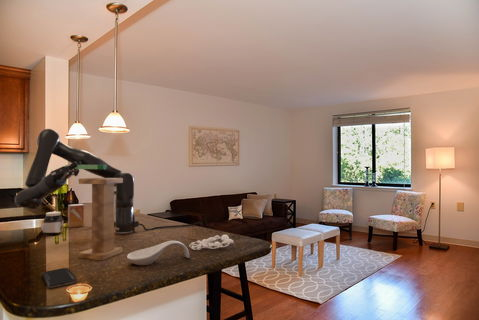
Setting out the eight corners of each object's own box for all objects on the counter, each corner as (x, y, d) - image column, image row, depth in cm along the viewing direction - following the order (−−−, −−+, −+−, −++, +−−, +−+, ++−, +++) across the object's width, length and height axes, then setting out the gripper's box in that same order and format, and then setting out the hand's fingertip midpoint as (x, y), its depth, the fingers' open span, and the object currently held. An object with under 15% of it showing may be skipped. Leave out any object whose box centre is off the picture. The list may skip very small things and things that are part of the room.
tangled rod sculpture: (193, 256, 136) (192, 246, 136) (186, 245, 150) (186, 236, 149) (236, 250, 142) (236, 241, 142) (226, 240, 156) (226, 232, 156)
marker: (63, 168, 140) (63, 164, 140) (67, 168, 142) (67, 164, 142) (103, 169, 134) (103, 164, 134) (106, 169, 135) (106, 164, 135)
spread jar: (54, 236, 169) (54, 214, 169) (33, 236, 170) (33, 214, 170) (67, 231, 181) (67, 210, 181) (47, 231, 182) (47, 210, 182)
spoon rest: (128, 270, 116) (128, 250, 116) (125, 261, 126) (125, 242, 126) (192, 261, 126) (192, 242, 126) (184, 253, 136) (184, 236, 136)
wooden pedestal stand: (76, 257, 131) (76, 178, 132) (98, 249, 143) (98, 177, 143) (104, 260, 127) (104, 179, 127) (124, 252, 138) (124, 178, 139)
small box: (69, 227, 192) (69, 205, 192) (68, 225, 197) (68, 204, 197) (84, 226, 196) (84, 204, 196) (82, 224, 201) (82, 203, 202)
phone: (67, 267, 115) (76, 279, 103) (67, 270, 115) (76, 282, 103) (41, 272, 110) (48, 285, 98) (41, 275, 110) (48, 288, 98)
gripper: (34, 176, 138) (61, 155, 133) (61, 174, 151) (87, 156, 146) (41, 191, 137) (68, 171, 132) (68, 188, 150) (94, 170, 145)
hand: (78, 163), depth 139 cm, fingers closed on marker, 2 cm apart
